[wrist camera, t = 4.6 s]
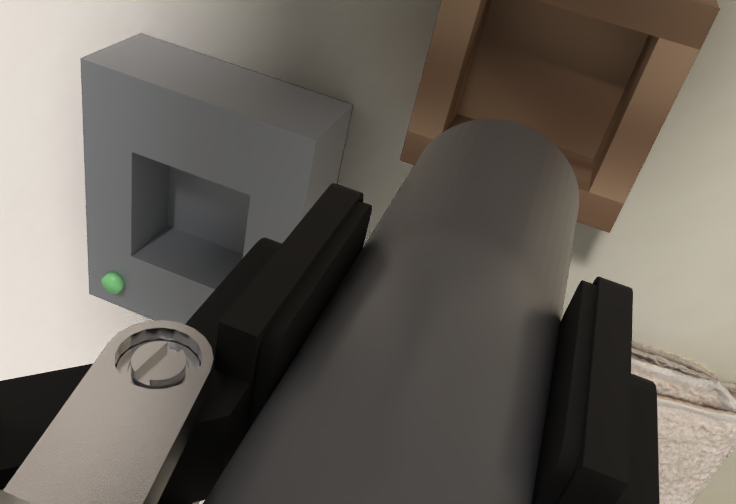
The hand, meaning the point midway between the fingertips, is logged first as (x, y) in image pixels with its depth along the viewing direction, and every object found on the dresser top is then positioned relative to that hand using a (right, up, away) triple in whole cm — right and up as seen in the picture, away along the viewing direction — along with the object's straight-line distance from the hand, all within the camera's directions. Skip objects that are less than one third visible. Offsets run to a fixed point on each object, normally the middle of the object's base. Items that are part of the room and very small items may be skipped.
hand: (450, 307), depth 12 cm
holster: (+5, +8, +14) cm, 16 cm away
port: (-8, +4, +21) cm, 23 cm away
